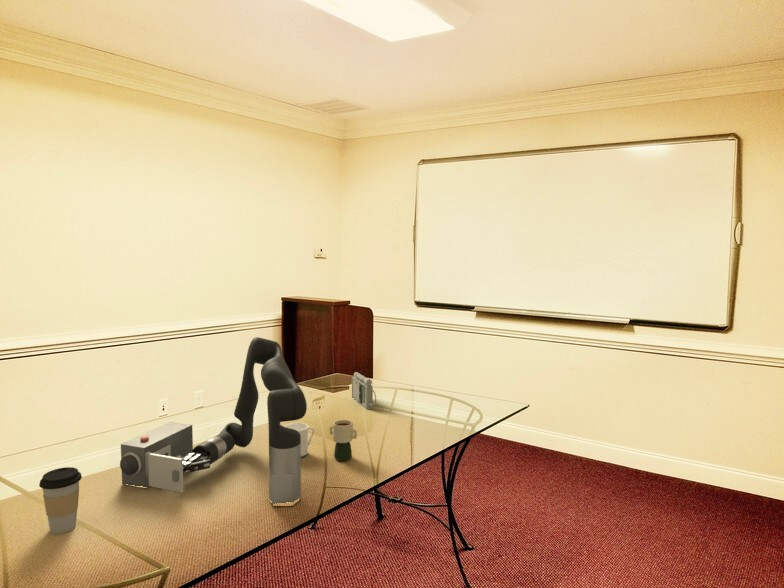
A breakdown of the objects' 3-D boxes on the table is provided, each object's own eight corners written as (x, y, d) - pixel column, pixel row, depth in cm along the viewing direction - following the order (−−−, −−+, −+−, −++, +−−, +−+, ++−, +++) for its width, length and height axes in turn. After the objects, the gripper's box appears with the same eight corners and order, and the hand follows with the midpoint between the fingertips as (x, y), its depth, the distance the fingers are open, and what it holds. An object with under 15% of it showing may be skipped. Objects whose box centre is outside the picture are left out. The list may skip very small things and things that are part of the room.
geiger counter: (349, 370, 257) (368, 383, 235) (361, 369, 260) (381, 381, 238) (349, 398, 259) (368, 413, 236) (361, 396, 261) (381, 411, 239)
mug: (284, 460, 183) (284, 432, 182) (282, 450, 192) (282, 423, 191) (315, 457, 186) (315, 429, 185) (312, 448, 194) (312, 421, 194)
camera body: (171, 457, 184) (170, 419, 183) (194, 461, 181) (193, 422, 180) (116, 487, 161) (115, 443, 160) (141, 492, 158) (140, 447, 157)
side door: (184, 491, 157) (183, 457, 156) (178, 494, 155) (177, 460, 154) (148, 483, 161) (147, 451, 160) (142, 487, 159) (141, 454, 158)
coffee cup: (75, 515, 144) (73, 462, 143) (89, 527, 138) (87, 472, 137) (36, 529, 137) (33, 474, 136) (49, 542, 131) (46, 485, 130)
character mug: (361, 457, 187) (361, 421, 185) (351, 464, 180) (351, 428, 179) (334, 452, 191) (335, 417, 190) (324, 459, 185) (324, 423, 184)
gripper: (192, 438, 175) (155, 458, 158) (226, 443, 171) (192, 463, 155) (192, 459, 176) (156, 482, 159) (227, 465, 172) (193, 488, 155)
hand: (174, 473), depth 157 cm, fingers closed
